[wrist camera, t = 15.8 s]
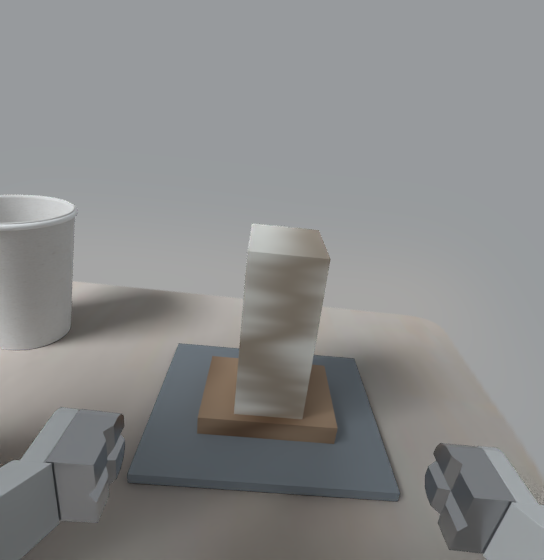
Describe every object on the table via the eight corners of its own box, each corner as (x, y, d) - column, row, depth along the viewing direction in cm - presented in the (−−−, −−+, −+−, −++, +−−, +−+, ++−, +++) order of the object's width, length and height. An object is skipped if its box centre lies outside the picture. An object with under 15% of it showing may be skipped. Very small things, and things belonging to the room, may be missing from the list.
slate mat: (127, 482, 20) (127, 474, 19) (178, 349, 31) (178, 343, 30) (397, 501, 20) (399, 493, 20) (352, 364, 31) (354, 358, 31)
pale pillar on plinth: (197, 433, 22) (203, 250, 18) (211, 369, 28) (219, 217, 23) (334, 444, 23) (373, 267, 18) (321, 379, 28) (349, 231, 24)
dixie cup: (90, 302, 36) (81, 195, 32) (85, 353, 29) (72, 224, 25) (-17, 309, 33) (-42, 192, 29) (-52, 368, 26) (-91, 223, 22)
